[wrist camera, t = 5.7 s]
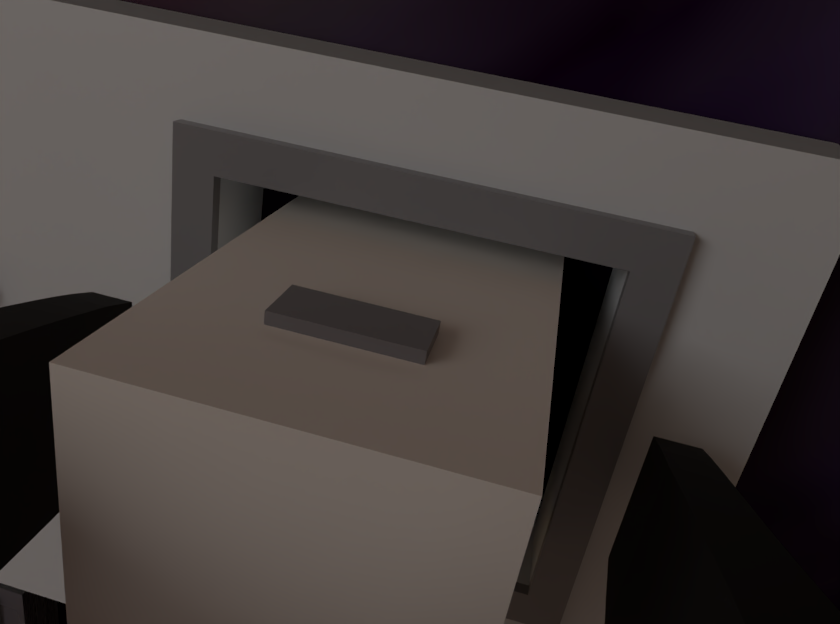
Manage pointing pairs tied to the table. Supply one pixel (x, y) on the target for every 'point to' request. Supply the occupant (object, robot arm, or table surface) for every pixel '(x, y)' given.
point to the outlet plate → (431, 205)
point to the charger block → (311, 430)
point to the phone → (26, 607)
